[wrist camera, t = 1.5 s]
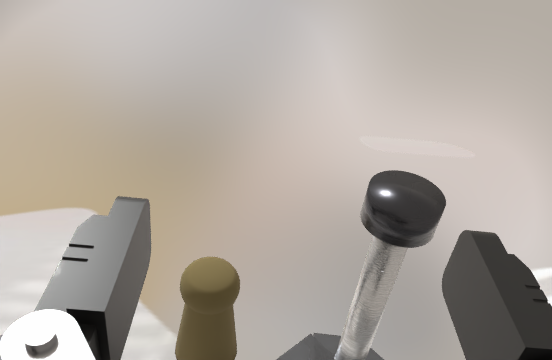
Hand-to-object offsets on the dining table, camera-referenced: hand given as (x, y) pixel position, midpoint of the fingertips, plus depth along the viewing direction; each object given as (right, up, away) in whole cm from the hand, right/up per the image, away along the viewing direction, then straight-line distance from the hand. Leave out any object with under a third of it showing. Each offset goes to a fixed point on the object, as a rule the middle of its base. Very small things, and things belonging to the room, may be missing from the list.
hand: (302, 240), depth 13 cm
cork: (-8, -15, +36) cm, 40 cm away
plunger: (+3, -16, +23) cm, 28 cm away
